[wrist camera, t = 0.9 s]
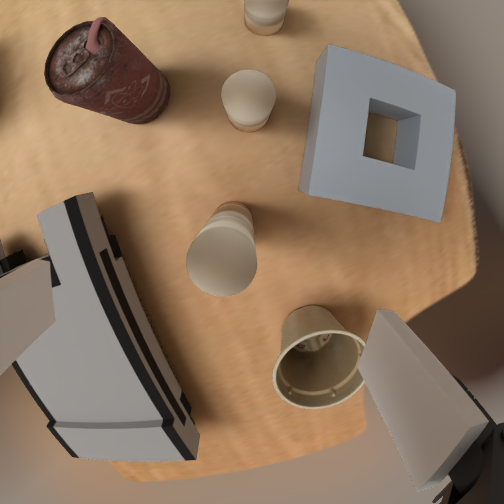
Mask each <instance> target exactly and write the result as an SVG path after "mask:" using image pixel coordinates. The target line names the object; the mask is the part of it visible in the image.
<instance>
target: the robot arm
mask: <svg viewBox="0 0 504 504" xmlns="http://www.w3.org/2000/svg"><path fill="white" fill-rule="evenodd" d="M54 322H56V319H55V312H54V304H53V295H52V285H51V273H50V262H49V261H44V260H40V259H35V260H33V261H31V262H29V263H28V264H26V265H24V266H22V267H20V268H18V269H16V270H15V271H13V272H11V273H9V274H7V275H6V276H4V277H2V278H0V375H1V374H2V373H3V372H4V371H5V370H6V369H7V368H8V367H9V366H10V365H11V364H12V363H13V362H14V361H15V360H16V359H17V358H18V357H19V356H20V355H21V354H22V353H23V352H24V351H25V350H26V349H27V348H28V347H29V346H30V345H31V344H32V343H33V342H34V341H35V340H36V339H37V338H38V337H40V336H41V335H42V334H43V333H44V332H45V331H46V330H47V329H48V328H49V327H50V326H51V325H52V324H53V323H54ZM357 368H358V370H359V372H360V374H361V376H362V378H363V379H364V381H365V383H366V385H367V387H368V389H369V391H370V393H371V395H372V397H373V399H374V401H375V404H376V406H377V408H378V410H379V411H380V414H381V416H382V418H383V420H384V422H385V424H386V426H387V428H388V430H389V432H390V434H391V436H392V439H393V441H394V443H395V445H396V447H397V449H398V451H399V454H400V456H401V458H402V460H403V462H404V464H405V467H406V469H407V471H408V473H409V475H410V478H411V480H412V482H413V484H414V487H415V489H416V491H417V492H419V491H422V490H426V489H429V488H432V487H436V486H437V485H438V484H439V483H440V482H441V481H442V480H443V479H444V478H445V477H446V476H447V475H449V476H450V478H451V480H452V481H451V482H450V483H449V484H448V485H447V486H446V487H445V488H444V489H443V490H442V491H441V492H440V493H439V494H438V495H437V496H436V497H435V499H434V500H433V503H436V502H437V501H438V500H439V499H440V498H441V497H442V496H443V499H442V502H441V503H439V504H504V423H500V424H498V425H497V424H496V423H495V422H494V421H493V419H492V418H491V417H490V416H489V414H488V413H487V412H486V411H485V409H484V408H483V407H482V406H481V405H480V403H479V402H478V401H477V400H476V399H474V396H473V395H472V394H471V392H470V391H468V389H467V388H466V387H465V385H464V384H463V383H462V382H461V381H460V380H459V379H458V378H456V377H455V376H454V375H452V374H451V373H449V372H448V371H447V370H446V368H445V367H444V366H443V365H442V364H441V363H440V361H439V360H438V359H437V358H436V357H435V356H434V355H433V354H432V352H431V351H430V350H429V349H428V348H427V347H426V346H425V345H424V343H423V342H422V341H421V340H420V339H419V338H418V337H417V336H416V335H415V333H413V331H412V330H411V329H410V328H409V327H408V326H407V325H406V324H405V323H404V321H403V320H402V319H401V318H400V317H399V316H398V315H397V314H396V313H395V312H394V311H392V310H380V309H377V311H376V315H375V318H374V321H373V324H372V327H371V330H370V333H369V336H368V339H367V341H366V344H365V347H364V350H363V353H362V355H361V358H360V361H359V363H358V366H357Z"/></svg>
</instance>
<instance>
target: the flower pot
mask: <svg viewBox="0 0 504 504" xmlns="http://www.w3.org/2000/svg"><path fill="white" fill-rule="evenodd" d="M327 333H329V335H328V337H327V338H326V340H323V338H324V336H325V335H326V334H327ZM298 343H299V344H302V345H304V347H303V348H300V347H298V346H296V344H298ZM365 344H366V343H365V342H364V340H363V339H361V338H360V337H359V336H358V335H356V334H354V333H352V332H349V331H347V330H345V328H344V327H343V326H342V325H341V324H340V323H339V322H338V321H337V320H336V319H335V318H334V316H333V315H332V314H331V313H330V312H329V311H328V310H326V309H325V308H323V307H320V306H313V305H311V306H306V307H303V308H300V309H298V310H295V311H293V312H292V313H291V314H290V315H289V316H288V317H287V319H286V320H285V322H284V324H283V328H282V340H281V353H280V355H279V357H278V358H277V360H276V362H275V365H274V368H273V373H272V380H273V385H274V388H275V390H276V392H277V393H278V395H279V396H280V397H281V398H282V399H283V400H284V401H286V402H287V403H289V404H291V405H293V406H296V407H299V408H304V409H320V408H327V407H331V406H334V405H337V404H339V403H341V402H343V401H345V400H347V399H348V398H350V397H351V396H353V395H354V394H355V393H356V392H357V391H358V390H359V389H360V388H361V387H362V386H363V384H364V383H365V381H364V379H363V378H362V376H361V374H360V372H359V370H358V368H357V366H358V363H359V361H360V358H361V355H362V353H363V350H364V347H365Z"/></svg>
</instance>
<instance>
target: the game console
mask: <svg viewBox="0 0 504 504" xmlns="http://www.w3.org/2000/svg"><path fill="white" fill-rule="evenodd" d="M37 217H38V221H39V224H40V227H41V230H42V233H43V236H44V240H45V243H46V246H47V249H48V252H49V254H47V255H45V256H42V257H40V258H37V259H40V260H44V261H49V262H50V273H51V285H52V295H53V304H54V312H55V319H56V322H54V323H53V324H52V325H51V326H50V327H49V328H48V329H47V330H46V331H45V332H44V333H43V334H42V335H41V336H40V337H38V338H37V339H36V340H35V341H34V342H33V343H32V344H31V345H30V346H29V347H28V348H27V349H26V350H25V351H24V352H23V353H22V354H21V355H20V356H19V357H18V358H17V359H16V360H15V361H14V362H13V363H12V365H13V367H14V369H15V370H16V372H17V374H18V375H19V377H20V378H21V380H22V382H23V383H24V385H25V386H26V388H27V389H28V391H29V392H30V394H31V395H32V397H33V398H34V400H35V401H36V403H37V404H38V406H39V407H40V408H41V410H42V411H43V412H44V414H45V415H46V416H47V418H48V419H49V421H50V422H49V423H48V424H47V428H48V429H49V430H50V431H51V433H52V434H53V435H54V436H55V438H56V439H57V440H58V441H59V442H60V443H61V445H62V446H63V447H64V448H65V449H66V450H67V451H68V453H69V454H70V455H71V456H72V457H77V458H85V459H96V460H109V461H132V462H164V461H187V460H196V458H197V452H198V445H199V438H200V433H199V432H198V430H197V429H196V427H195V422H194V421H193V419H192V417H191V416H190V412H191V406H190V404H189V402H188V400H187V399H186V397H185V395H184V393H183V391H182V389H181V387H180V385H179V384H178V382H177V380H176V378H175V376H174V374H173V372H172V370H171V368H170V366H169V364H168V362H167V360H166V358H165V356H164V354H163V352H162V350H161V347H160V345H159V343H158V341H157V339H156V337H155V335H154V332H153V330H152V328H151V326H150V324H149V321H148V319H147V317H146V314H145V312H144V310H143V307H142V305H141V303H140V300H139V298H138V295H137V293H136V291H135V288H134V286H133V283H132V281H131V278H130V275H129V273H128V270H127V268H126V265H125V262H124V260H123V257H122V254H121V251H120V249H119V246H118V243H117V240H116V237H115V235H113V236H111V237H109V236H108V233H107V230H106V227H105V224H104V221H103V218H102V216H100V214H99V211H98V208H97V205H96V201H95V198H94V195H93V192H90V193H86V194H81V195H76V196H74V197H72V198H69V199H67V200H65V201H63V202H61V203H59V204H57V205H55V206H53V207H51V208H49V209H47V210H45V211H43V212H41V213H39V214H37ZM32 261H33V260H32ZM30 262H31V261H30ZM28 263H29V262H28ZM28 263H27V261H26V258H25V256H24V253H23V250H20V251H18V252H16V253H13V254H11V255H9V256H7V257H6V256H5V253H4V250H3V247H2V243H1V240H0V278H2V277H4V276H6V275H7V274H9V273H11V272H13V271H15V270H16V269H18V268H20V267H22V266H24V265H26V264H28Z"/></svg>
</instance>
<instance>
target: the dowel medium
mask: <svg viewBox="0 0 504 504" xmlns="http://www.w3.org/2000/svg"><path fill="white" fill-rule="evenodd" d="M221 98H222V102H223V105H224V107H225V110H226V113H227V115H228V118H229V121H230V122H231V124H232V125H233V126H234V127H235V128H236V129H238V130H240V131H243V132H254V131H257V130H259V129H261V128H262V127H263V126H264V125H265V124H266V122H267V120H268V118H269V115H270V113H271V111H272V108H273V106H274V103H275V101H276V88H275V85H274V83H273V82H272V80H271V79H270V78H269V77H268V76H267V75H265V74H264V73H262V72H260V71H257V70H251V69H247V70H241V71H238V72H236V73H234V74H232V75H231V76H230V77H229V78H228V79H227V80H226V81H225V83H224V84H223V87H222V91H221Z"/></svg>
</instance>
